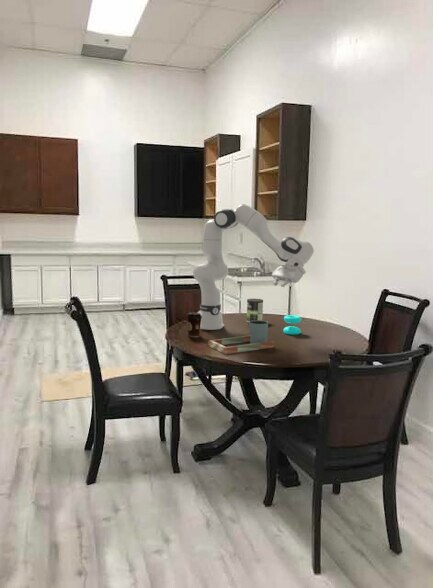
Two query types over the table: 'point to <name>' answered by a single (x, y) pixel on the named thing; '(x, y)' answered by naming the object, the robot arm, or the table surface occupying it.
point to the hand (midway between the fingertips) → (278, 285)
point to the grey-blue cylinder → (258, 331)
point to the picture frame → (219, 344)
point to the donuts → (291, 329)
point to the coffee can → (254, 309)
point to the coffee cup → (193, 324)
